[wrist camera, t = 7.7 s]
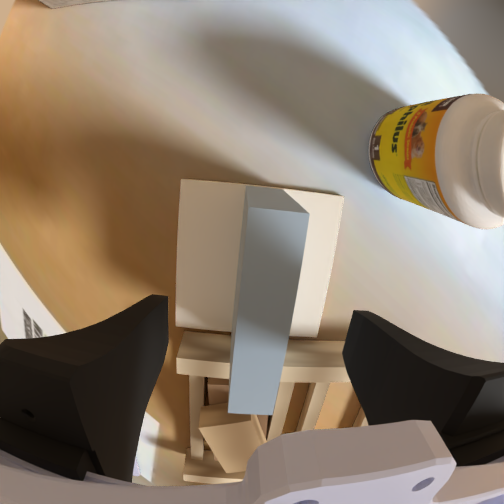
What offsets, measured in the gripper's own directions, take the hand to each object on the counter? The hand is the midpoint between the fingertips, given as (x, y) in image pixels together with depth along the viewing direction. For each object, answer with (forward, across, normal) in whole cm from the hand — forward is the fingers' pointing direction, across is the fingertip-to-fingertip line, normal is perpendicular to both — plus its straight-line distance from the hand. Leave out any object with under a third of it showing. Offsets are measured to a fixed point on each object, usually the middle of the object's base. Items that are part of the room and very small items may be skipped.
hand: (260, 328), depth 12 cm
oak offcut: (+5, 0, +12) cm, 13 cm away
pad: (+7, 0, 0) cm, 7 cm away
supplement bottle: (+7, -8, -8) cm, 14 cm away
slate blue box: (+7, 0, 0) cm, 7 cm away
